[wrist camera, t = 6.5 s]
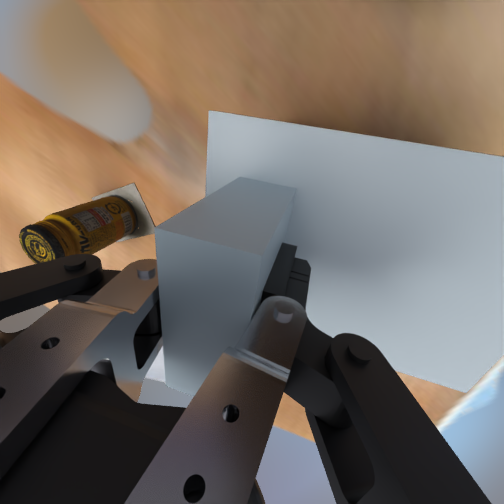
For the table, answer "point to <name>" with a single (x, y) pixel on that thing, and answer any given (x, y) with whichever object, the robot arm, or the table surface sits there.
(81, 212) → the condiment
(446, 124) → the table surface
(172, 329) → the lid
